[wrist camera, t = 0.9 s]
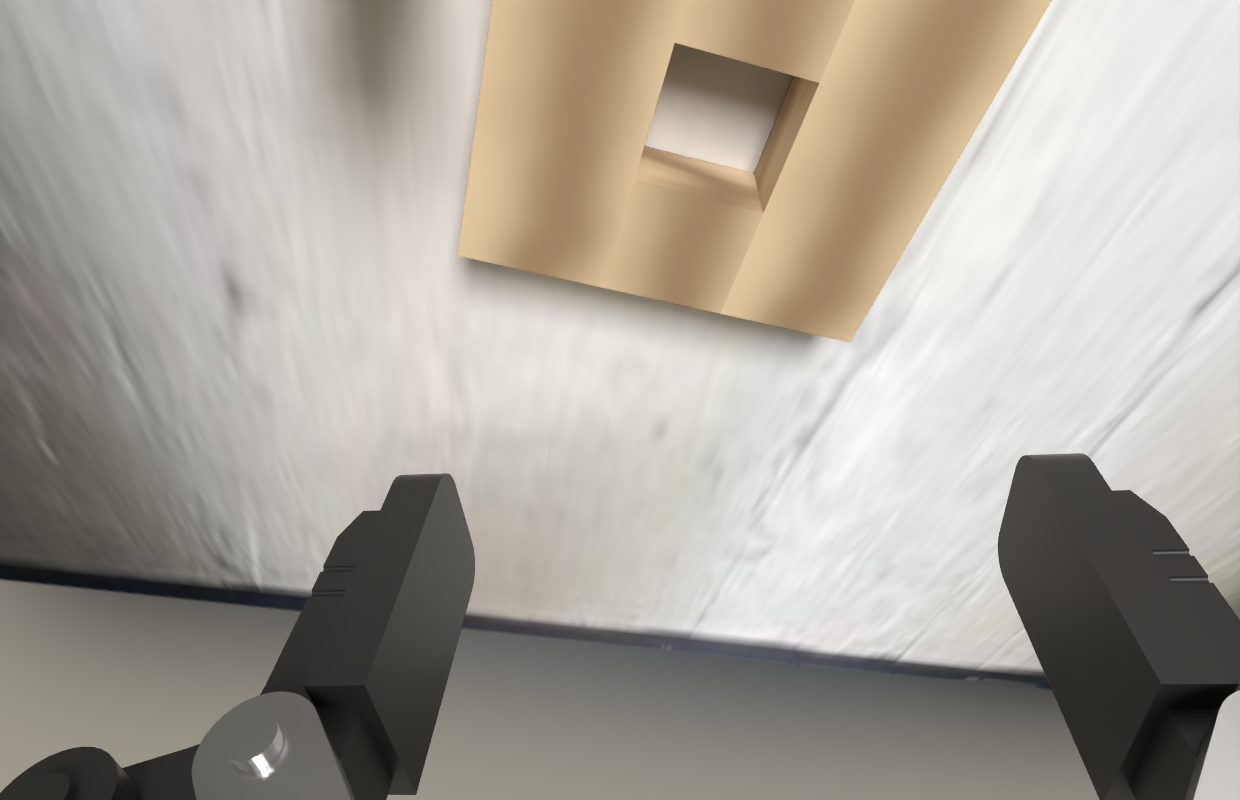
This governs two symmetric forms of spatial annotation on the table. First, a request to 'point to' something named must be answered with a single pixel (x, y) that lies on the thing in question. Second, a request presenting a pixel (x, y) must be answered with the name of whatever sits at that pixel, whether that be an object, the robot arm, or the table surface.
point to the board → (717, 195)
